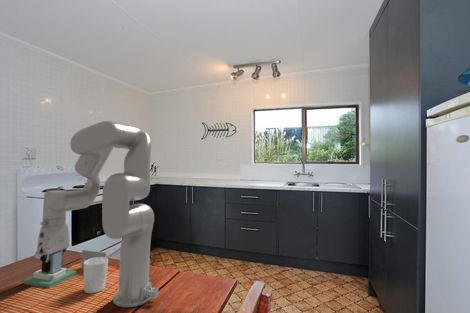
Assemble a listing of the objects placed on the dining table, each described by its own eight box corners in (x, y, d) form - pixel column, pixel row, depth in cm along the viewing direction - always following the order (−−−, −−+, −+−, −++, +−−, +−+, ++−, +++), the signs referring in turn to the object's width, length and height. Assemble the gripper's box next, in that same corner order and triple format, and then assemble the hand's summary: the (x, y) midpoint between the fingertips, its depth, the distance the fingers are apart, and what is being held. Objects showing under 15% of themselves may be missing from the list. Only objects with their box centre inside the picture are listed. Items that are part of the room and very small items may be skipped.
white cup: (79, 288, 90) (80, 260, 91) (102, 281, 96) (103, 255, 97) (86, 296, 85) (87, 266, 86) (110, 289, 91) (111, 261, 91)
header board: (76, 274, 102) (77, 266, 102) (49, 287, 91) (49, 279, 91) (52, 270, 105) (52, 263, 105) (22, 283, 93) (23, 275, 93)
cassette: (106, 270, 107) (107, 251, 108) (103, 271, 106) (104, 253, 106) (83, 266, 110) (84, 249, 110) (80, 268, 108) (81, 250, 109)
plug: (60, 274, 99) (61, 251, 99) (52, 278, 95) (53, 254, 96) (48, 272, 100) (49, 249, 101) (39, 276, 97) (40, 252, 97)
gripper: (41, 227, 90) (38, 279, 89) (79, 218, 106) (77, 262, 105) (24, 226, 91) (21, 277, 90) (64, 217, 108) (62, 260, 107)
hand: (51, 268), depth 98 cm, fingers open, 4 cm apart
